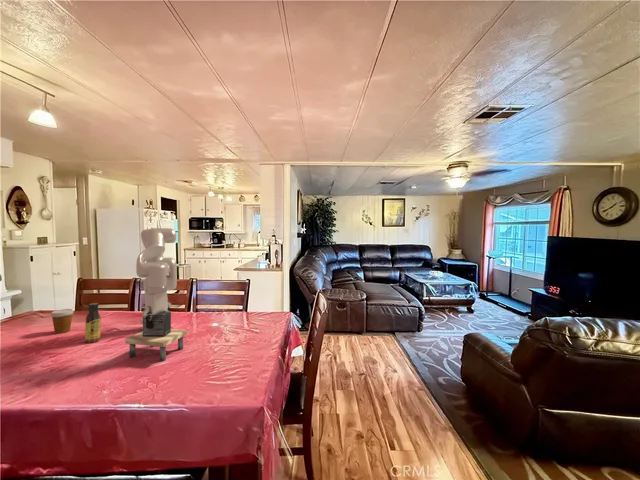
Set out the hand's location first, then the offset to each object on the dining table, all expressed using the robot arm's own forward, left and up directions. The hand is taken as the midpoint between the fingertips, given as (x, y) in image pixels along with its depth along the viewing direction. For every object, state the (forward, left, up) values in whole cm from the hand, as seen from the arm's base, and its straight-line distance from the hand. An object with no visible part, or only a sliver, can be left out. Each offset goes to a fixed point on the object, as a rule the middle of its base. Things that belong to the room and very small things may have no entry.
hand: (157, 324), depth 131 cm
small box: (0, 0, -5) cm, 5 cm away
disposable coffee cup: (-12, -72, -14) cm, 74 cm away
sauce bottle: (-5, -43, -14) cm, 45 cm away
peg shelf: (0, 0, -14) cm, 14 cm away
